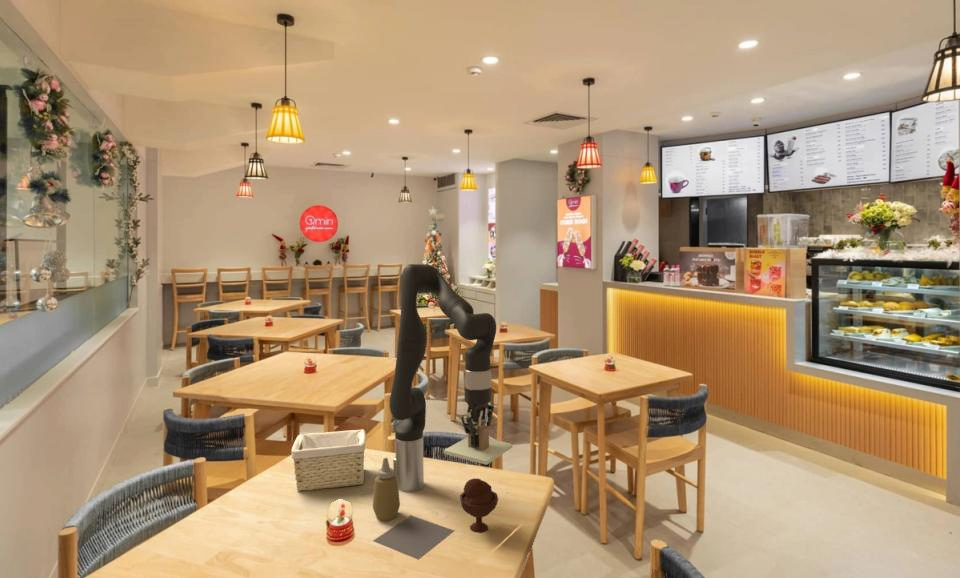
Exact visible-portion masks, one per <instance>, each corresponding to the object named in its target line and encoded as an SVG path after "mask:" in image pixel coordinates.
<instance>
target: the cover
mask: <svg viewBox="0 0 960 578" xmlns="http://www.w3.org/2000/svg"><path fill="white" fill-rule="evenodd" d="M474 430H475V426H474ZM478 435H479V447H478V448H474V447H471V435H470V434H467V437H465V438H463V439H462V440H460V441H457V442H456V443H454V444H453V445H450V446H449V447H447V448H445V449H444V450H443V454H444V455H447V456H451V457H455V458H460V459H463V460H466V461H469V462H470V461H471V462H474V463H478V464H482V465H488V464H490V463H491V462H493V461H494V460H496V459H497V458H499V457H500V456H502V455H504V454H506V452H508V451H509V450H511V449H512V448H513V444H512V443H510V442H505V441H500V440H496V439H492V438H490V426H484V425H481V426H480V427H479V434H478Z"/></svg>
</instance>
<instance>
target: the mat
mask: <svg viewBox="0 0 960 578" xmlns="http://www.w3.org/2000/svg"><path fill="white" fill-rule="evenodd" d="M454 532H455V530H454V529H451V528H448V527H445V526H443V525H439V524H437V523H434V522H431V521H428V520H426V519H423V518H420V517H416V516H414V515H412V514H411V515H409V516H408V517H406V518H405V519H403V520H402V521H400V522H399V523H397V524H395V525H394V526H393V527H391V528H390V529H388V530H387V531H385V532H383V533H382V534H381V535H380V536H378V537H376V538H375V539H374V540H372V542H374V543H377V544H379V545H382V546H384V547H387V548H389V549H391V550H394V551H397V552H398V553H401V554H404V555H406V556H409V557H411V558H413V559H416V560H418V561H419V560H420V559H422V557H424V556H425V555H426V554H428V553H429V552H430V551H431V550H433V549H434V548H435V547H436V546H437V545H439V544H440V543H442V542H443V541H444V540H445V539H446V538H447V537H449V536H450V535H451V534H453V533H454Z"/></svg>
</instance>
